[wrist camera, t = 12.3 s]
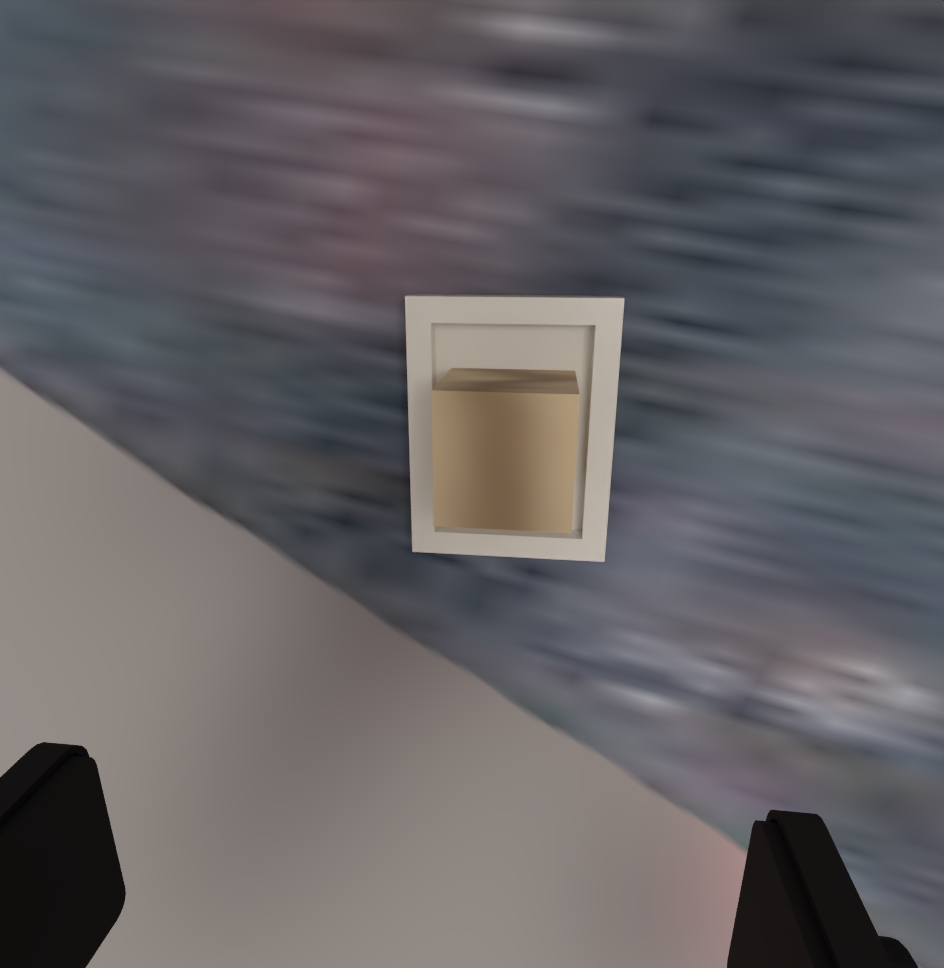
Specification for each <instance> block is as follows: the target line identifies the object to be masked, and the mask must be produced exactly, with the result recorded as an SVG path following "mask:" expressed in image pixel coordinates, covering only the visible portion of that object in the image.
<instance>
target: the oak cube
mask: <svg viewBox="0 0 944 968" xmlns="http://www.w3.org/2000/svg"><path fill="white" fill-rule="evenodd" d="M431 398H432V462H433V526H439V527H459V528H479V529H499V530H520V531H540V532H560V533H572V519H573V502H574V485H575V468H576V451H577V434H578V417H579V399H580V393H579V388H578V383H577V378H576V373H575V371H571V370H528V369H484V368H452V369H451V370H450V371H449V372H448V373H447V374H446V375H445V376H444V377H443V379H442V380H441V381H440V382H439V383H438V384H437V385H436V386H435V387H434V388H433V389H432V390H431Z"/></svg>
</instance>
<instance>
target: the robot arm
mask: <svg viewBox="0 0 944 968" xmlns="http://www.w3.org/2000/svg"><path fill="white" fill-rule="evenodd" d="M125 895H126V893H125V885H124V881H123V877H122V872H121V868H120V864H119V859H118V855H117V851H116V846H115V842H114V838H113V833H112V829H111V825H110V821H109V816H108V812H107V807H106V803H105V799H104V794H103V790H102V786H101V782H100V777H99V773H98V768H97V765H96V762H95V760H94V759H93V758H91V757H89V754H88V752H87V750H86V749H85V748H84V747H83V746H78V745H68V744H57V743H46V742H43V743H40V744H37V745H36V746H34V747H33V748H31V749H30V750H29V751H28V752H27V753H26V754H25V755H24V756H23V757H22V758H20V759H19V760H18V761H17V762H16V763H15V764H14V765H13V766H12V767H11V768H10V769H9V770H8V771H7V772H6V773H5V774H3V775H2V776H1V777H0V968H85V967H86V966H87V965H88V963H89V962H90V960H91V959H92V957H93V956H94V954H95V952H96V951H97V950H98V948H99V946H100V945H101V943H102V942H103V940H104V939H105V937H106V936H107V934H108V933H109V931H110V930H111V928H112V927H113V925H114V924H115V922H116V921H117V919H118V917H119V915H120V913H121V910H122V908H123V905H124V901H125ZM727 968H918V966H917V965H916V963H915V961H914V960H913V958H912V956H911V955H910V953H909V951H908V950H907V949H906V948H905V947H904V946H903V945H902V944H901V943H900V942H899V941H898V940H896V939H893V938H891V937H883V936H878V934H877V932H876V930H875V928H874V926H873V924H872V922H871V920H870V918H869V915H868V913H867V911H866V909H865V907H864V905H863V903H862V901H861V899H860V897H859V894H858V892H857V890H856V888H855V886H854V884H853V882H852V880H851V878H850V876H849V873H848V871H847V869H846V867H845V865H844V863H843V861H842V859H841V857H840V855H839V852H838V850H837V848H836V846H835V844H834V842H833V840H832V838H831V836H830V834H829V831H828V829H827V827H826V825H825V823H824V822H823V820H822V818H821V817H820V816H818V815H817V814H811V813H800V812H790V811H779V810H770V812H769V813H768V815H767V819H766V821H757V820H756V821H755V822H754V824H753V827H752V832H751V837H750V843H749V848H748V853H747V859H746V864H745V870H744V875H743V880H742V886H741V891H740V897H739V902H738V908H737V912H736V918H735V923H734V928H733V934H732V939H731V945H730V950H729V956H728V962H727Z"/></svg>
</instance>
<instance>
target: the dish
mask: <svg viewBox="0 0 944 968" xmlns="http://www.w3.org/2000/svg"><path fill="white" fill-rule="evenodd" d="M623 311H624V298H623V297H621V296H578V295H468V294H412V295H407V296H405V315H406V349H407V384H408V418H409V453H410V488H411V522H412V552H426V553H445V554H464V555H483V556H502V557H521V558H540V559H559V560H578V561H597V562H605V549H606V536H607V523H608V510H609V496H610V483H611V470H612V457H613V444H614V430H615V417H616V404H617V391H618V378H619V364H620V351H621V338H622V325H623ZM452 368H484V369H528V370H571V371H575V373H576V378H577V383H578V388H579V393H580V399H579V417H578V434H577V451H576V468H575V485H574V502H573V519H572V533H560V532H540V531H520V530H499V529H479V528H459V527H439V526H433V462H432V398H431V390H432V389H433V388H434V387H435V386H436V385H437V384H438V383H439V382H440V381H441V380H442V379H443V377H444V376H445V375H446V374H447V373H448V372H449V371H450V370H451V369H452Z"/></svg>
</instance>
